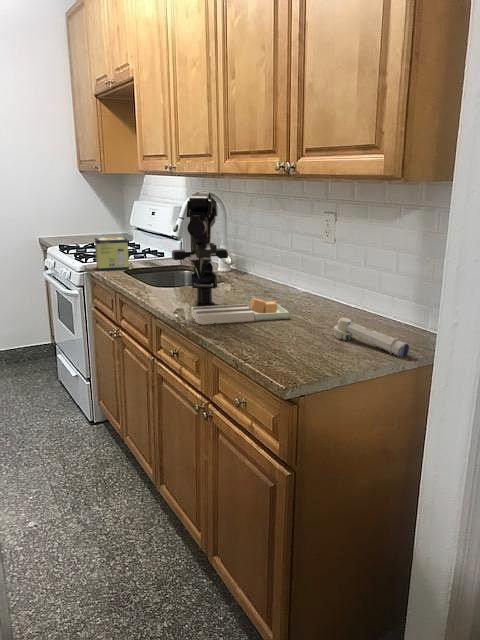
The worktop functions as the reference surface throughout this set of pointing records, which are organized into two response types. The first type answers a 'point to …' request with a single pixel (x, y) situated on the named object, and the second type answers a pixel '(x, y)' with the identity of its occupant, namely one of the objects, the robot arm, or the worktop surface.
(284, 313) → the tray
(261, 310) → the orange-brown cube
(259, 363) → the worktop surface
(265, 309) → the orange cube
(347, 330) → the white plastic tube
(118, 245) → the protein box
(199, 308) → the slot board
